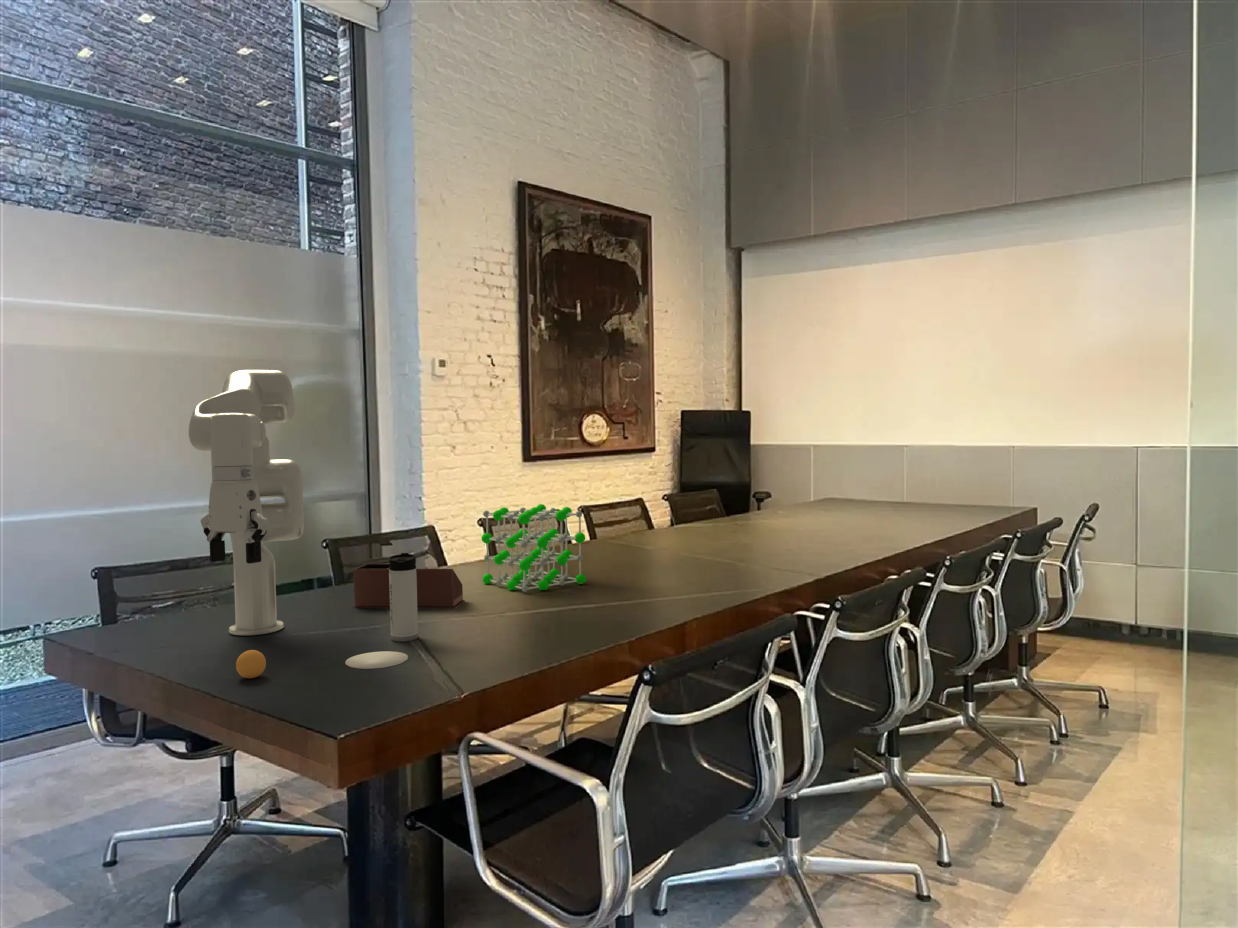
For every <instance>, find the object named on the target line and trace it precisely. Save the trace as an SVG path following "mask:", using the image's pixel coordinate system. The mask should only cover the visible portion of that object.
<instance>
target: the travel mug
mask: <svg viewBox="0 0 1238 928" xmlns="http://www.w3.org/2000/svg"><path fill="white" fill-rule="evenodd" d="M416 558H417V557H416V555H415V554H412V553H410V552H401V553H399V554H394V555H392V556H390V557H388V564H389V566H390V567H389V572H390V573H389V586H390V608H389V616H390V617H389V618H390V621H389V622H390V639H391V641H393V642H398V643H399V642H402V643H404V642H405V643H406V642H411V641H414V640H417V639H418V638H419V623H418V622H419V621H418V619H419V618H418V608H417V576H416V569H417V559H416Z"/></svg>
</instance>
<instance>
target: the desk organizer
mask: <svg viewBox="0 0 1238 928" xmlns="http://www.w3.org/2000/svg"><path fill="white" fill-rule="evenodd" d="M389 567H390V566H389V563H365V564H363V565H359V566H358V567H355V568H353V592H354V596H353V597H354V598H353V599H354V606H353V607H352V609H390V586H389V573H390V572H389ZM457 575H458V574H456V572H455V569H454V568H416V576H417V609H442V610H443V609H446V610H447V609H449V610H450V609H457V608H458V607H459V606H460V605H462V604H463V603H464V602H465V601H466V599H464V595H463V593H464V592H463V590H464V589H463V583H462V582H461V580H460V578H459V577H458V576H457ZM461 603H462V604H461Z"/></svg>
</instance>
